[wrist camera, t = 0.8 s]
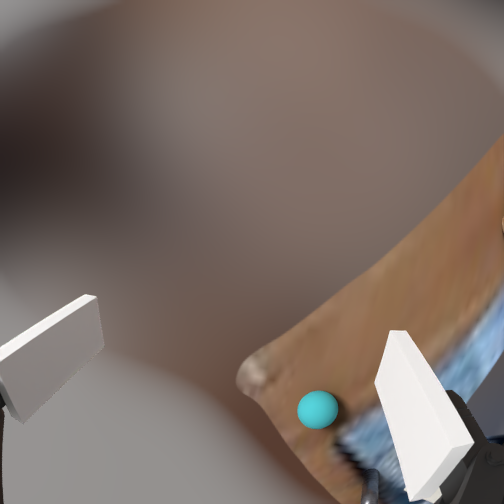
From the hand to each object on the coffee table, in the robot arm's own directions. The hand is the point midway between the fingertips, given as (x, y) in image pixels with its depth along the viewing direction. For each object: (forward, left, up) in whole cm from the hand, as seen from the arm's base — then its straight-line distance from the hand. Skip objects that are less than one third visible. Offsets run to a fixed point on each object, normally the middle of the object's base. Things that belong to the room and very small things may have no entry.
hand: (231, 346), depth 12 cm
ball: (-10, +13, -25) cm, 30 cm away
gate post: (-26, +19, -28) cm, 43 cm away
